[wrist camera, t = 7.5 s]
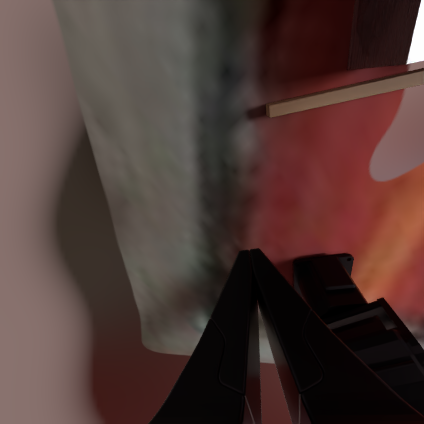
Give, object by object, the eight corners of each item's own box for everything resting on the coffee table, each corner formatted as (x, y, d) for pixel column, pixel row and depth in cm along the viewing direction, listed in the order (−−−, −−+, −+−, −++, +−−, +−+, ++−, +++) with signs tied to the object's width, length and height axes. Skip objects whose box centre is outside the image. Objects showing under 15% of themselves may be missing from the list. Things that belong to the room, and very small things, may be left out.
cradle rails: (485, 66, 15) (510, 65, 13) (266, 114, 17) (270, 117, 16) (569, -156, 10) (619, -191, 9) (254, -50, 12) (257, -65, 11)
